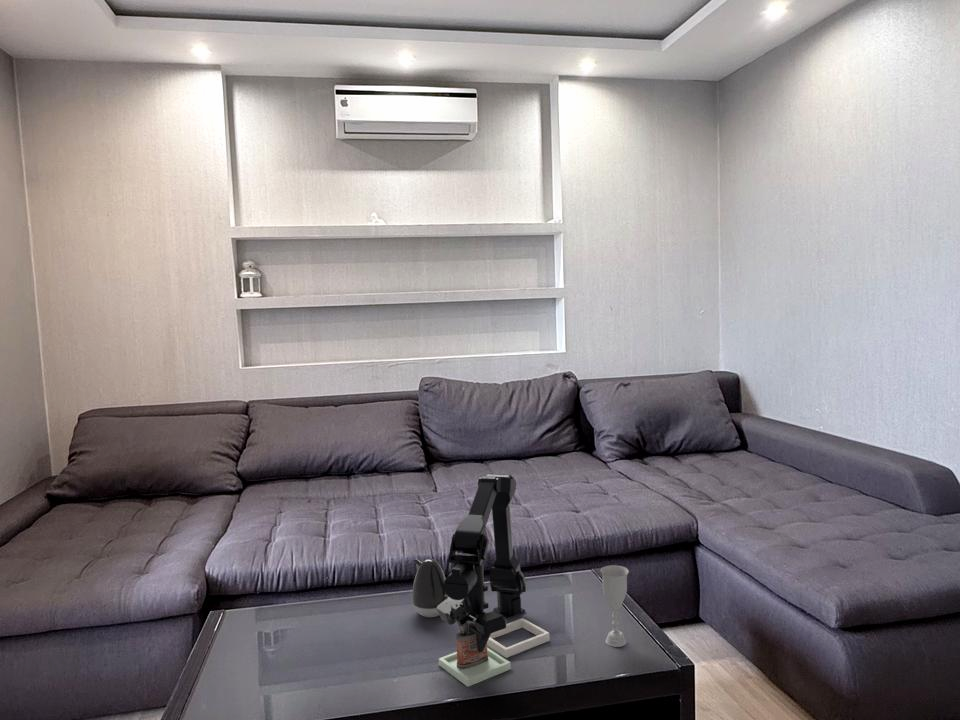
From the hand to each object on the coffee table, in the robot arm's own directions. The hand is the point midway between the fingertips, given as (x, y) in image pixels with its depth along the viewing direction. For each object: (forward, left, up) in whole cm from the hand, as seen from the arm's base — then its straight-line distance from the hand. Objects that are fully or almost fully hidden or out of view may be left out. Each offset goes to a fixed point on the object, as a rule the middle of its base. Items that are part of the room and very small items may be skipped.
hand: (473, 647), depth 164 cm
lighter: (-1, 0, -4) cm, 4 cm away
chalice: (+12, +34, -5) cm, 36 cm away
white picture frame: (-4, +15, -5) cm, 16 cm away
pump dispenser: (-31, +7, -5) cm, 32 cm away
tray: (0, 0, -5) cm, 5 cm away
